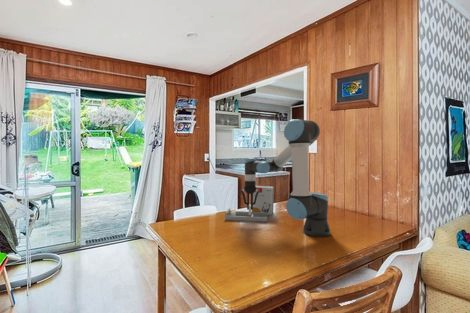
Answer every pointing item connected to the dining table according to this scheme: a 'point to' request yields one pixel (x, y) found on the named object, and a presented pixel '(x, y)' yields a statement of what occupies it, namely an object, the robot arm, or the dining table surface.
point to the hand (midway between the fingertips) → (249, 214)
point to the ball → (233, 213)
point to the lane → (247, 216)
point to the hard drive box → (264, 199)
